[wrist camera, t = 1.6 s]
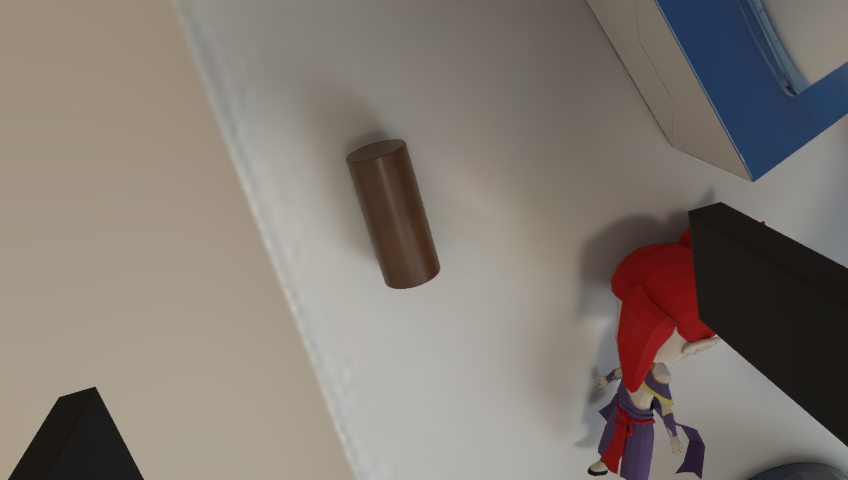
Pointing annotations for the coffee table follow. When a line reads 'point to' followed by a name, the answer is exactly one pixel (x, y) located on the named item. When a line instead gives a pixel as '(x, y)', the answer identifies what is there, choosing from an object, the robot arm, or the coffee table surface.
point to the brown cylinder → (394, 213)
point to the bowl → (802, 473)
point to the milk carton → (735, 73)
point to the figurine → (651, 357)
